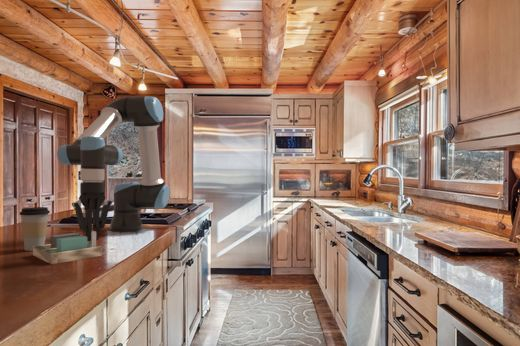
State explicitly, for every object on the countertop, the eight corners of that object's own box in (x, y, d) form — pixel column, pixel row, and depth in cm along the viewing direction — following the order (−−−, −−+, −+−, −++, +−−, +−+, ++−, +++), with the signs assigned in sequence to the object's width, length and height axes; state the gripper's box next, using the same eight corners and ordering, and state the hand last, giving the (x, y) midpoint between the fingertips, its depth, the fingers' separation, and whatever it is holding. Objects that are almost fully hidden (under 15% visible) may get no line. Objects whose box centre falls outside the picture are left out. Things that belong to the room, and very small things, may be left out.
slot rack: (80, 248, 129) (80, 239, 129) (102, 255, 117) (102, 245, 117) (32, 255, 117) (33, 245, 117) (51, 264, 105) (51, 253, 106)
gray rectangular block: (75, 250, 125) (75, 232, 125) (79, 252, 122) (80, 234, 122) (50, 254, 119) (50, 235, 119) (54, 256, 116) (55, 237, 116)
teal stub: (82, 254, 119) (82, 235, 119) (87, 256, 116) (87, 236, 116) (56, 258, 113) (56, 238, 113) (61, 260, 110) (61, 240, 110)
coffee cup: (24, 247, 129) (24, 207, 129) (52, 245, 132) (53, 206, 132) (14, 252, 120) (15, 209, 120) (45, 251, 123) (46, 209, 123)
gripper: (106, 181, 127) (105, 245, 127) (68, 181, 117) (67, 251, 117) (116, 181, 122) (115, 248, 122) (77, 182, 112) (76, 255, 112)
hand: (92, 249), depth 119 cm, fingers closed
